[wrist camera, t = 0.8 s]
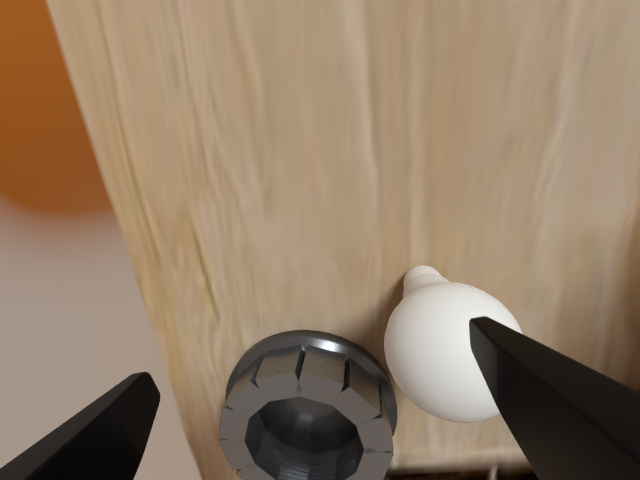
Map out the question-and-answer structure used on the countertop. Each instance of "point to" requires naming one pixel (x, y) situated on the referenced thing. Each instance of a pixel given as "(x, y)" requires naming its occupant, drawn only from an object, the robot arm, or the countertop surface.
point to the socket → (308, 411)
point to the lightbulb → (441, 346)
